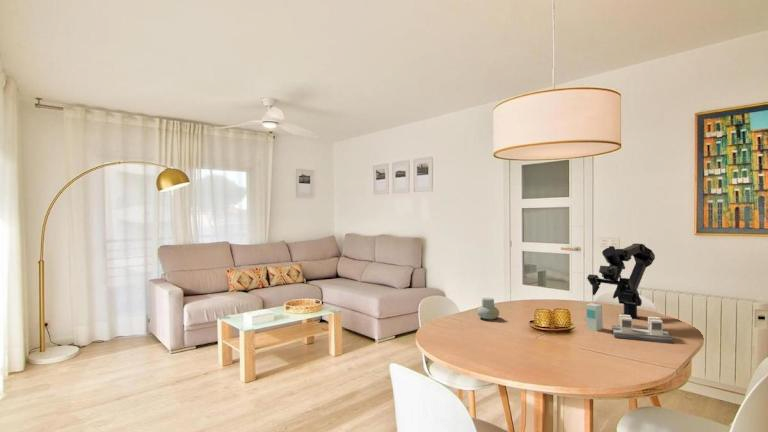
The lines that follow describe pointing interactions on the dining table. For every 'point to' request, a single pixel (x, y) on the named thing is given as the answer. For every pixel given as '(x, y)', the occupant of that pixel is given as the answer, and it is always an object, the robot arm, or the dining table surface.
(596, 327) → the block
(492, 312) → the air freshener
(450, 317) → the dining table surface
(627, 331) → the rail board
